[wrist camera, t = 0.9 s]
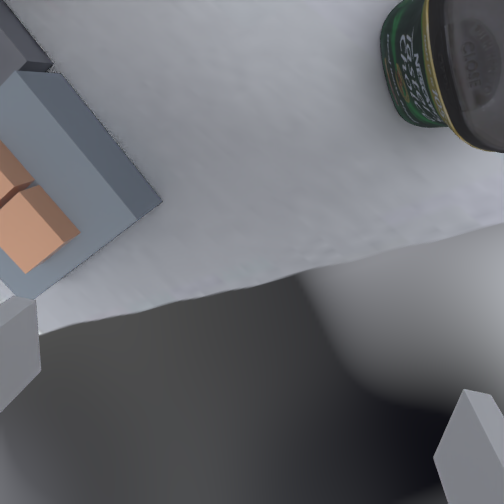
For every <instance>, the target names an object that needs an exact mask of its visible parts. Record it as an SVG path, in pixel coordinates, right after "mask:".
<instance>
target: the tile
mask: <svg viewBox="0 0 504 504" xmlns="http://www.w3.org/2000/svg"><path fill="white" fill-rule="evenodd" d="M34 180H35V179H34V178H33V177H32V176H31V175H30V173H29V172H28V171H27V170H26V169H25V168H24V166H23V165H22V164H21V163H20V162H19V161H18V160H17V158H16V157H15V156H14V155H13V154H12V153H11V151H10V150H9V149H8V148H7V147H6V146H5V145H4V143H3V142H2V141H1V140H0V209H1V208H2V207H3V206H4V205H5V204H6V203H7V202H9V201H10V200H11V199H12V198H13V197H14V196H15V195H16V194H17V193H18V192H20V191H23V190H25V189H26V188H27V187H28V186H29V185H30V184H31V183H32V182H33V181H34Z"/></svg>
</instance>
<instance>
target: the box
mask: <svg viewBox="0 0 504 504" xmlns="http://www.w3.org/2000/svg"><path fill="white" fill-rule="evenodd" d="M52 64H53V63H52V61H51V60H50V59H49V58H48V56H47V55H46V54H45V53H44V51H43V50H42V49H41V48H40V46H39V45H38V44H37V43H36V41H35V40H34V39H33V37H32V36H31V35H30V34H29V32H28V31H27V30H26V29H25V27H24V26H23V25H22V24H21V22H20V21H19V20H18V19H17V17H16V16H15V15H14V14H13V12H12V11H11V10H10V9H9V7H8V6H7V5H6V3H5V2H4V1H3V0H0V86H1V85H2V84H3V83H4V82H5V81H6V80H7V79H8V78H9V77H10V75H11V74H12V73H13V72H14V71H15V70H16V71H31V72H46V71H47V70H48V69H49V68H50V67H51V65H52Z"/></svg>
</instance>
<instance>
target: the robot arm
mask: <svg viewBox="0 0 504 504" xmlns="http://www.w3.org/2000/svg"><path fill="white" fill-rule="evenodd" d="M40 371H41V364H40V349H39V334H38V320H37V306H36V300H32V299H27V298H22V297H17V296H12V297H10V298H9V299H8V300H6V301H5V302H3V303H2V304H0V413H1V412H2V410H3V409H4V408H5V407H6V406H7V405H8V404H9V403H10V402H11V401H12V400H13V399H14V398H15V397H16V396H17V395H18V394H19V393H20V392H21V391H22V390H23V389H24V388H25V387H26V386H27V385H28V384H29V383H30V382H31V380H32V379H34V378H35V376H36V375H37V374H38V373H39V372H40ZM433 458H434V461H435V464H436V467H437V470H438V473H439V476H440V479H441V482H442V485H443V488H444V492H445V495H446V498H447V501H448V504H504V417H503V415H502V413H501V412H500V410H499V408H498V406H497V405H496V403H495V402H494V400H493V398H492V396H491V395H490V394H485V393H481V392H475V391H471V390H466V389H464V390H463V392H462V394H461V396H460V398H459V400H458V403H457V405H456V407H455V409H454V412H453V414H452V416H451V419H450V421H449V423H448V425H447V428H446V430H445V432H444V434H443V437H442V439H441V441H440V444H439V446H438V448H437V450H436V453H435V455H434V457H433Z"/></svg>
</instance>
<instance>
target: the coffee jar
mask: <svg viewBox="0 0 504 504" xmlns="http://www.w3.org/2000/svg"><path fill="white" fill-rule="evenodd" d="M380 40H381V53H382V61H383V67H384V72H385V76H386V80H387V84H388V88H389V91H390V94H391V96H392V99H393V102H394V104H395V107H396V109H397V111H398V112H399V114H400V115H401V116H402V118H403V119H405V120H406V121H407V122H409V123H411V124H413V125H416V126H420V127H427V128H436V127H449V128H450V129H451V130H452V131H453V132H454V133H455V134H456V135H457V136H458V137H459V138H460V139H461V140H462V141H464V142H465V143H467V144H468V145H470V146H472V147H474V148H477V149H480V150H483V151H490V152H499V153H504V0H403V1H402V2H400V3H399V4H398V5H397V6H396V7H395V8H394V9H393V10H392V11H391V12H390V14H389V15H388V17H387V18H386V20H385V22H384V25H383V28H382V31H381V38H380Z"/></svg>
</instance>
